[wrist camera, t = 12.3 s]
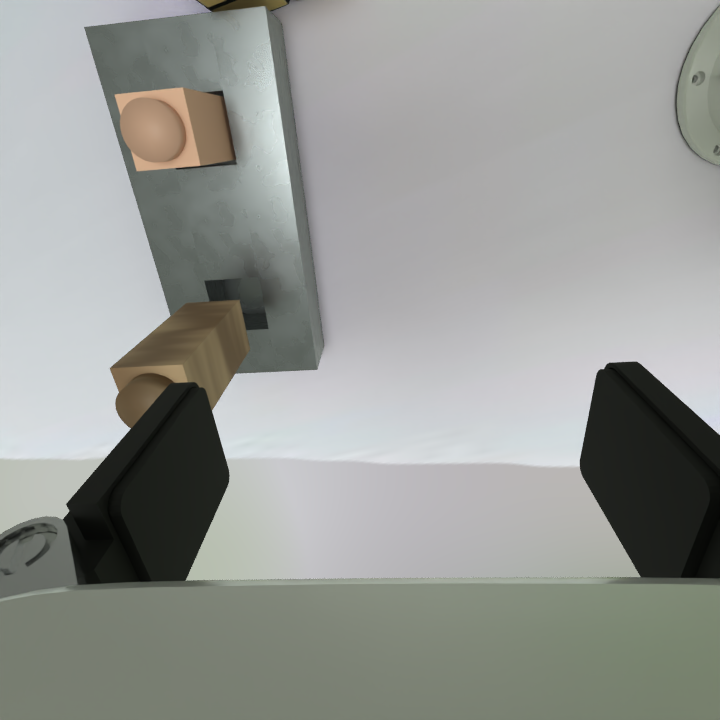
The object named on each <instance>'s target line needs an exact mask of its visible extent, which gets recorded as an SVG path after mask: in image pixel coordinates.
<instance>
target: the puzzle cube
mask: <svg viewBox="0 0 720 720" xmlns="http://www.w3.org/2000/svg"><path fill="white" fill-rule="evenodd" d="M197 1H198V2H199V3H201V4H202V5H204V6H205V7H206V8H207V9H209V10H210V11H212V12H218V11H227V10H235V9H244V8H252V7H261V6H266V7H267V9H268V10H269V11H271V10H274V9H277V8H279V7H282V6H284V5H287V4H288V3H289V0H197Z"/></svg>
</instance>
